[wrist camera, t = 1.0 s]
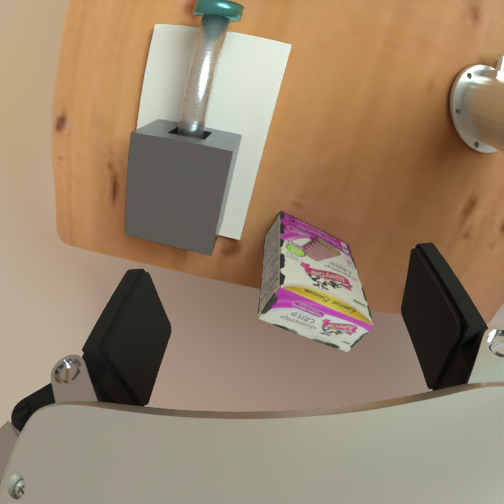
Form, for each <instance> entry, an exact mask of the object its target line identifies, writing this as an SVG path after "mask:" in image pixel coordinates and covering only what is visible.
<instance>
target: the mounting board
mask: <svg viewBox="0 0 504 504" xmlns="http://www.w3.org/2000/svg"><path fill="white" fill-rule="evenodd" d="M198 31H199V27H190V26H179V25H165V24H155V27H154V32H153V36H152V41H151V45H150V50H149V55H148V60H147V65H146V70H145V76H144V82H143V88H142V94H141V100H140V107H139V114H138V122H137V129H139V128H141V127H143V126H145V125H147V124H149V123H151V122H153V121H155V120H158V119H162V120H168V121H174V122H179V121H180V115H181V110H182V105H183V99H184V94H185V89H186V84H187V79H188V74H189V70H190V65H191V61H192V56H193V52H194V48H195V43H196V39H197V35H198ZM291 46H292V45H290V44H286V43H282V42H278V41H274V40H269V39H265V38H260V37H255V36H251V35H245V34H240V33H234V32H228V31H227V34H226V37H225V41H224V45H223V49H222V53H221V57H220V62H219V66H218V70H217V74H216V79H215V83H214V87H213V92H212V96H211V101H210V106H209V110H208V115H207V120H206V125H205V127H207V128H212V129H217V130H222V131H226V132H231V133H235V134H240V135H242V138H241V143H240V147H239V151H238V155H237V160H236V164H235V168H234V173H233V177H232V181H231V186H230V190H229V195H228V199H227V204H226V208H225V213H224V218H223V222H222V225H221V228H220V231H219V234H218V235H221V236H225V237H229V238H234V239H238V240H240V238H241V234H242V230H243V226H244V222H245V218H246V214H247V210H248V206H249V203H250V199H251V195H252V191H253V187H254V183H255V179H256V175H257V172H258V168H259V164H260V160H261V156H262V153H263V149H264V145H265V141H266V137H267V134H268V130H269V126H270V122H271V119H272V115H273V111H274V108H275V104H276V100H277V96H278V93H279V89H280V85H281V82H282V78H283V74H284V71H285V67H286V64H287V60H288V56H289V53H290V49H291Z"/></svg>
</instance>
